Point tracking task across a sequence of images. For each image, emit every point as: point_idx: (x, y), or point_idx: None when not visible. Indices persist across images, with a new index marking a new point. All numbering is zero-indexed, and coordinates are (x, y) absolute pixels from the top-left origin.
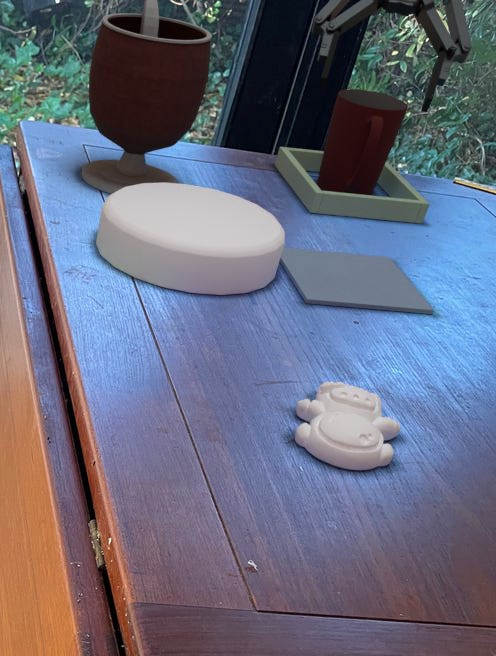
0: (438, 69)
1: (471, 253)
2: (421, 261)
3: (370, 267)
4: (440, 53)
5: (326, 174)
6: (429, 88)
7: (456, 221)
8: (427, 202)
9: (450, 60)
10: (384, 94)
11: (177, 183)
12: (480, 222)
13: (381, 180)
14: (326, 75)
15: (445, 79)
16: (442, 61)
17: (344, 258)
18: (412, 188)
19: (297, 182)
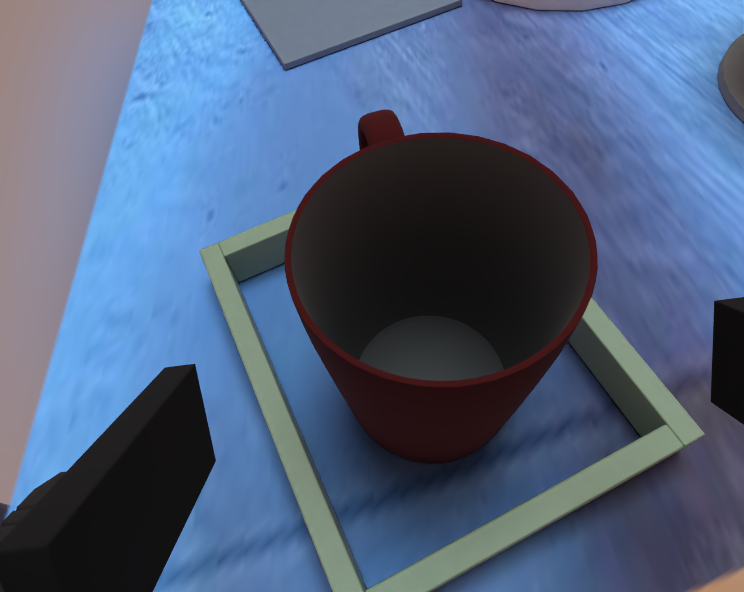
0: (103, 448)
1: (125, 189)
2: (229, 103)
3: (311, 18)
4: (52, 533)
5: (484, 306)
6: (177, 392)
7: (122, 358)
8: (204, 254)
9: None
10: (407, 380)
11: (742, 105)
12: (52, 398)
13: (333, 511)
14: (732, 305)
15: (61, 473)
16: (56, 487)
17: (353, 22)
18: (239, 335)
19: None
